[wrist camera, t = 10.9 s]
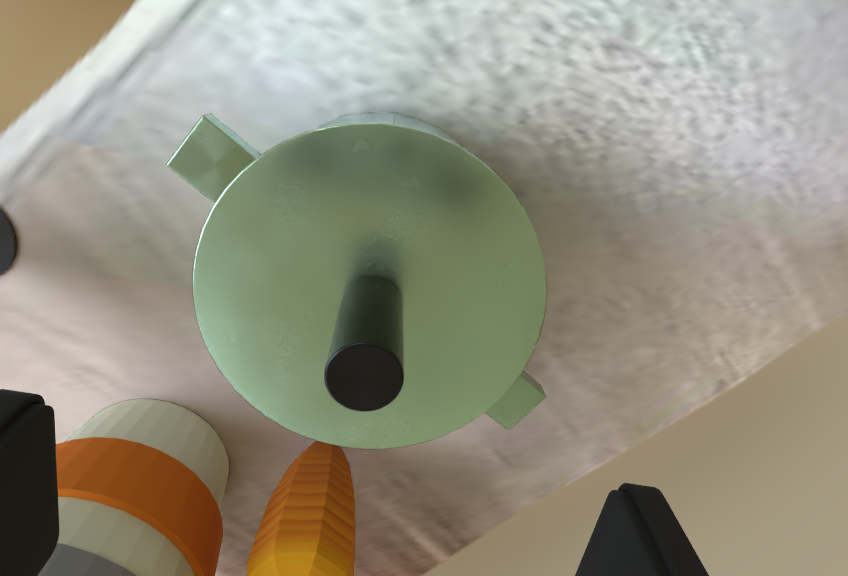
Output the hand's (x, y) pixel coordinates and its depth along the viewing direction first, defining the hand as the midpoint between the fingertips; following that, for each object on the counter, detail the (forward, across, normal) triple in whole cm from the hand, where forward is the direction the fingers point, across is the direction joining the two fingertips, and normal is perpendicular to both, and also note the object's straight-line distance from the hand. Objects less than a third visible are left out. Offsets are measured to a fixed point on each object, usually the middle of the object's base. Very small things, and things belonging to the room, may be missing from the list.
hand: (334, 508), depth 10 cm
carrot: (+22, +1, +16) cm, 27 cm away
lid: (+13, 0, +2) cm, 13 cm away
